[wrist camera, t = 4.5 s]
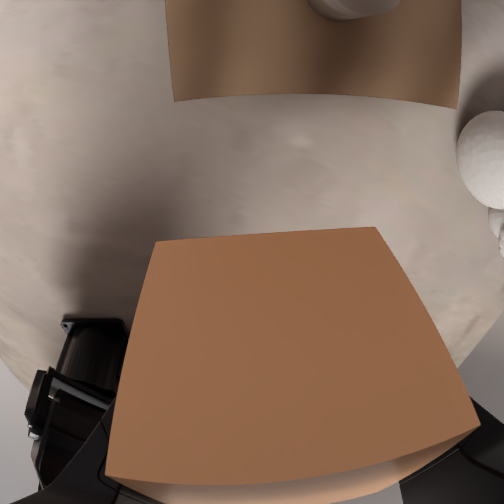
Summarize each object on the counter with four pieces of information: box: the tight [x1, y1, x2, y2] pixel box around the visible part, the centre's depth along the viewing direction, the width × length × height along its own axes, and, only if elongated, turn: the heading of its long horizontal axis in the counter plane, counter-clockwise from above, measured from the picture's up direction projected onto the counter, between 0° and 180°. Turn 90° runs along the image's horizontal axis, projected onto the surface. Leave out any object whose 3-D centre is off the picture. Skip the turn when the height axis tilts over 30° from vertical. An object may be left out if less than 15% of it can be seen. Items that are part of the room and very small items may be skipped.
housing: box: [105, 227, 481, 504], centre depth 8 cm, size 6×6×6 cm
